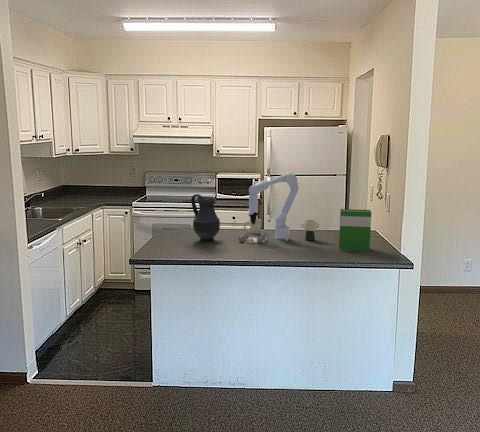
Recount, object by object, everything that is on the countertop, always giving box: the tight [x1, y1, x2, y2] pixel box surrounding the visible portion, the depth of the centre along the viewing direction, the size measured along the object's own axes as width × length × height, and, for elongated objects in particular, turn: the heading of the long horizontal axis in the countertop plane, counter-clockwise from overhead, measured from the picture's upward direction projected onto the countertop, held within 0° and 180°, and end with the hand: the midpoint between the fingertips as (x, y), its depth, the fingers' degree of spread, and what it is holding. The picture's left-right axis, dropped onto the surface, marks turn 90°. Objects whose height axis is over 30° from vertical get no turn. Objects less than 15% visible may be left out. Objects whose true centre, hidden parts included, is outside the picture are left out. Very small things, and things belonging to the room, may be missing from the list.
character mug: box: [301, 219, 320, 241], centre depth 326 cm, size 11×7×13 cm, turn 83°
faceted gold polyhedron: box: [245, 237, 254, 245], centre depth 315 cm, size 4×5×2 cm
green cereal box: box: [338, 208, 372, 252], centre depth 300 cm, size 18×7×24 cm, turn 80°
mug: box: [243, 218, 262, 235], centre depth 345 cm, size 8×13×10 cm, turn 81°
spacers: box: [238, 232, 266, 245], centre depth 321 cm, size 15×14×4 cm
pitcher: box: [190, 193, 221, 243], centre depth 322 cm, size 17×21×30 cm
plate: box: [243, 237, 267, 244], centre depth 321 cm, size 15×16×1 cm
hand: (253, 223), depth 330 cm, fingers closed
